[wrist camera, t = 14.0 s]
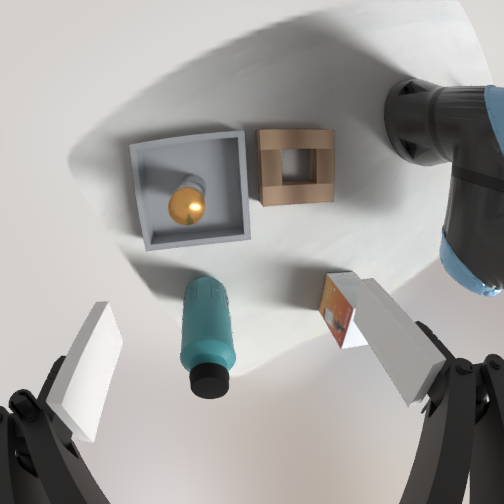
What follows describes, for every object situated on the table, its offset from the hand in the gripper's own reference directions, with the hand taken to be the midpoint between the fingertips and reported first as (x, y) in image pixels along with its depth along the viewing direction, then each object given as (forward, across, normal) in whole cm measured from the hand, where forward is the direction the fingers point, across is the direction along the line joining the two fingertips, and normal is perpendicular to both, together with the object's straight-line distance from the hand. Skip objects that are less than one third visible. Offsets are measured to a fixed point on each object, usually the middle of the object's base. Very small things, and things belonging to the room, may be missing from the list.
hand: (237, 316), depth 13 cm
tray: (+26, +4, -2) cm, 27 cm away
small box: (+27, -18, +18) cm, 37 cm away
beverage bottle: (+26, +4, +14) cm, 30 cm away
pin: (+25, +4, -2) cm, 26 cm away
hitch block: (+27, -10, -4) cm, 29 cm away
